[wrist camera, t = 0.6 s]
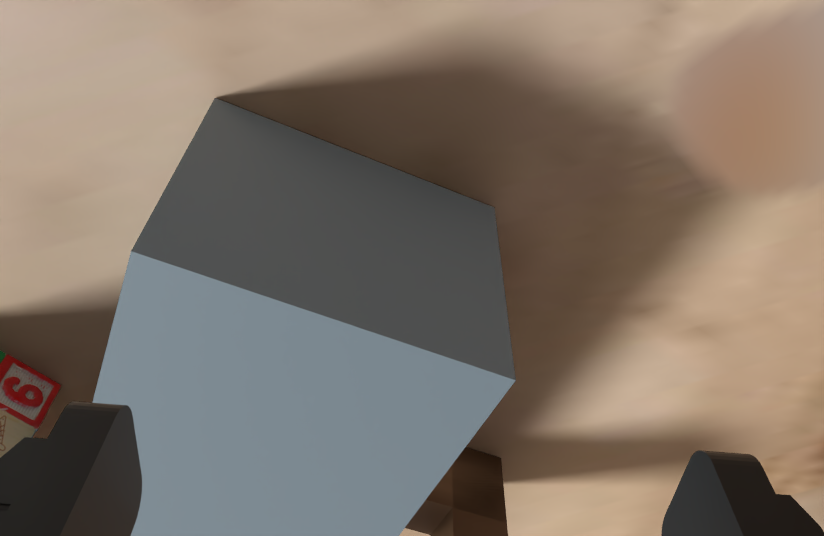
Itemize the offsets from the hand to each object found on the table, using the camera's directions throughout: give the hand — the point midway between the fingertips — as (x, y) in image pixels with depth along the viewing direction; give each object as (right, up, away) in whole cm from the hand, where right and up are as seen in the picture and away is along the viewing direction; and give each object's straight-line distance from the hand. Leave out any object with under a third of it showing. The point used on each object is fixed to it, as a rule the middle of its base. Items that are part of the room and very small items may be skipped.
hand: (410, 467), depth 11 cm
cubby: (-6, 0, +24) cm, 25 cm away
